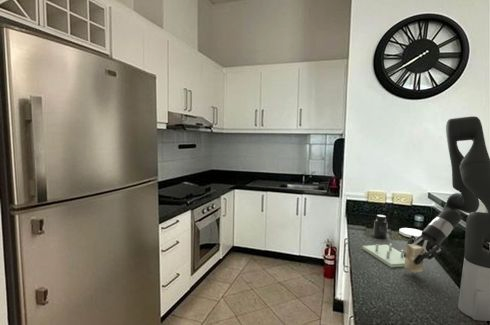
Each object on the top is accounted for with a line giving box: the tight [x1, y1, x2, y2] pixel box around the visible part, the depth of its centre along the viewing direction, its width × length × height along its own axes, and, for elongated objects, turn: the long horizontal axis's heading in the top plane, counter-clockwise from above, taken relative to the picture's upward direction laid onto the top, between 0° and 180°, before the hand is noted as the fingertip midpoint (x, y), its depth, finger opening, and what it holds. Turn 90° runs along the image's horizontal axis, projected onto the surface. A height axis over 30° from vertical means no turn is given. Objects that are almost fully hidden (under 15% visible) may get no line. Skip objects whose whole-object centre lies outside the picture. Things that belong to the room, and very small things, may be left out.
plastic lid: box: [398, 227, 423, 238], centre depth 166 cm, size 14×14×2 cm
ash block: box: [403, 243, 424, 273], centre depth 118 cm, size 4×4×10 cm
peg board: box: [362, 243, 405, 268], centre depth 135 cm, size 20×14×4 cm
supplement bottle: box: [372, 214, 389, 239], centre depth 161 cm, size 7×7×12 cm
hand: (410, 260), depth 117 cm, fingers closed on ash block, 4 cm apart
